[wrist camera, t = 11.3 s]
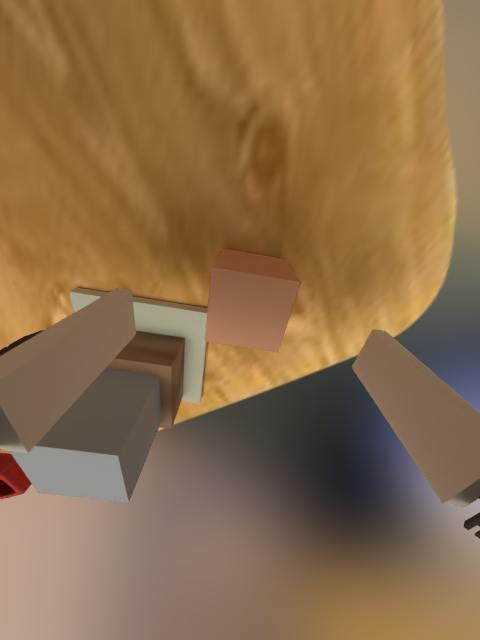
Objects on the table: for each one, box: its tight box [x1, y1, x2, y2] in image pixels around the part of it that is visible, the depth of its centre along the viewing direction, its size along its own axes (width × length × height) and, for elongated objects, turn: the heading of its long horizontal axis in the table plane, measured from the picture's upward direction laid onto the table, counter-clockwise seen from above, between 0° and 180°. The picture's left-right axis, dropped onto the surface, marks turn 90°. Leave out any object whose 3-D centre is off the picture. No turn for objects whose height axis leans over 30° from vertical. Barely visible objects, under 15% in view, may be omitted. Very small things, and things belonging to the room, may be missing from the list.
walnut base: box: [105, 331, 185, 429], centre depth 19 cm, size 8×8×4 cm
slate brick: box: [10, 369, 161, 503], centre depth 15 cm, size 6×6×6 cm
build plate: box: [69, 288, 208, 403], centre depth 21 cm, size 12×12×1 cm
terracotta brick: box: [205, 248, 301, 353], centre depth 15 cm, size 5×5×6 cm
